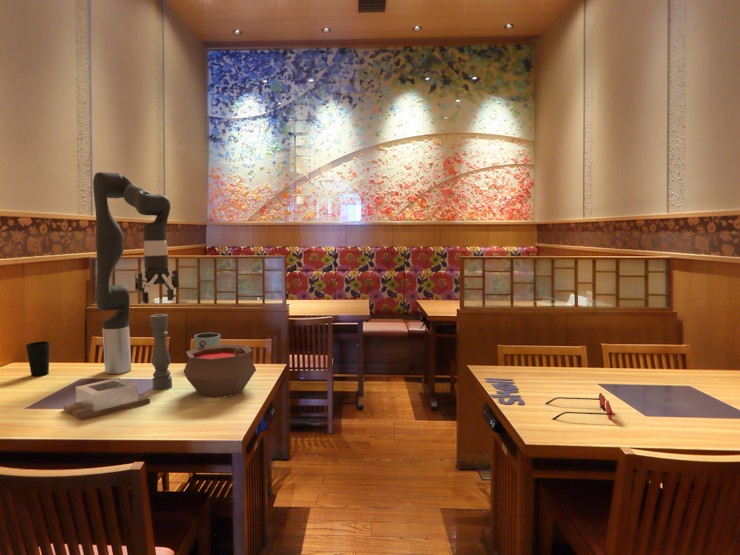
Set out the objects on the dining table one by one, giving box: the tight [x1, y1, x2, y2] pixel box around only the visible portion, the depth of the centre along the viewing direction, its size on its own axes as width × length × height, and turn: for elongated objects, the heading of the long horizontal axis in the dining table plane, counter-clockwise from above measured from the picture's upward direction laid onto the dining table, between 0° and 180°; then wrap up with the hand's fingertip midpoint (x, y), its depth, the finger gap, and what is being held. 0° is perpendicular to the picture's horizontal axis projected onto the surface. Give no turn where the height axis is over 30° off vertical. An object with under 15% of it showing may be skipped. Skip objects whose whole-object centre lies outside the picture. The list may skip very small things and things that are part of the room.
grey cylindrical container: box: [193, 332, 221, 349], centre depth 216 cm, size 10×10×12 cm
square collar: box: [74, 377, 139, 412], centre depth 165 cm, size 13×13×5 cm
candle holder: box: [149, 313, 173, 391], centre depth 184 cm, size 6×6×25 cm
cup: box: [25, 341, 51, 378], centre depth 203 cm, size 8×8×12 cm
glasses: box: [544, 392, 616, 421], centre depth 154 cm, size 14×16×5 cm
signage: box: [484, 377, 525, 406], centre depth 176 cm, size 28×1×10 cm
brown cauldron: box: [183, 339, 257, 399], centre depth 179 cm, size 24×24×16 cm
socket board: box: [62, 393, 151, 421], centre depth 165 cm, size 14×20×2 cm
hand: (158, 301), depth 182 cm, fingers open, 8 cm apart
